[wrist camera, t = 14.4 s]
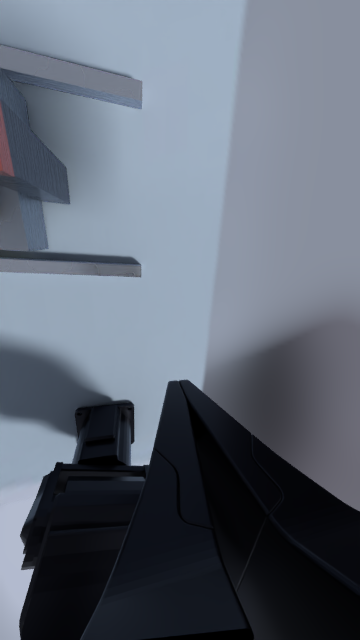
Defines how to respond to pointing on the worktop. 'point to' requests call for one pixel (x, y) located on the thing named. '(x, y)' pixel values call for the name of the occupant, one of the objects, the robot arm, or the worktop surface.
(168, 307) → the worktop surface
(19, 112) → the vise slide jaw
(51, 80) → the frame
